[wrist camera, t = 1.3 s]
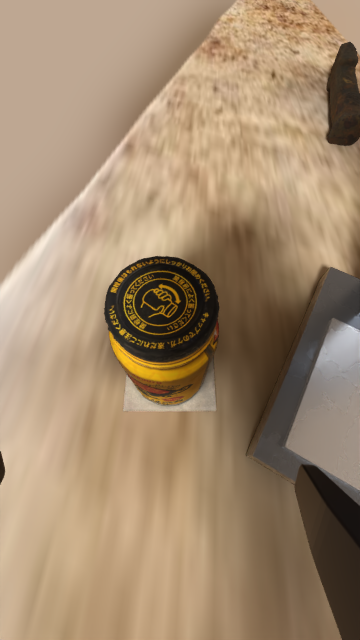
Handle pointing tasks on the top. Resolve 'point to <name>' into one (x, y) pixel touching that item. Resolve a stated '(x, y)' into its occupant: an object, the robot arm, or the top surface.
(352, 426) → the coffee machine
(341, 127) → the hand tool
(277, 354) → the top surface
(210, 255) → the top surface
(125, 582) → the top surface
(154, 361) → the condiment
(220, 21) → the top surface
